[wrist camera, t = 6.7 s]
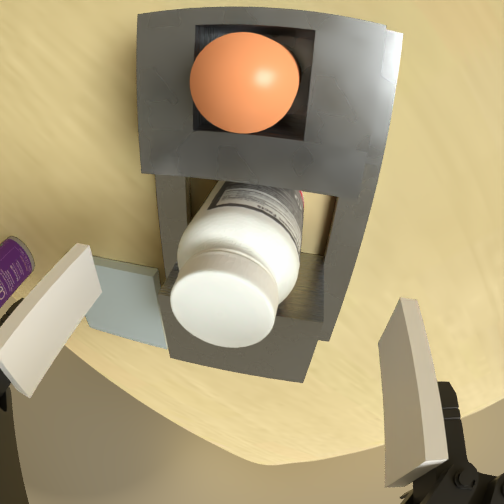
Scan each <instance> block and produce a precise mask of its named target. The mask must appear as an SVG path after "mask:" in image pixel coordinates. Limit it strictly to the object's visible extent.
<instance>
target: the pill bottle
mask: <svg viewBox="0 0 504 504" xmlns="http://www.w3.org/2000/svg"><path fill="white" fill-rule="evenodd" d="M303 213H304V197H303V192H302V191H299V190H292V189H285V188H278V187H271V186H263V185H255V184H247V183H239V182H231V181H222V180H219V181H218V182H217V184H216V185H215V187H214V188H213V189H212V191H211V192H210V194H209V195H208V197H207V199H206V200H205V202H204V203H203V205H202V206H201V208H200V209H199V210H198V212H197V213H196V215H195V216H194V217H193V219H192V220H191V222H190V223H189V224H188V226H187V228H186V229H185V231H184V233H183V235H182V237H181V240H180V243H179V247H178V253H177V261H178V267H179V274H178V277H177V279H176V281H175V283H174V285H173V288H172V290H171V295H170V304H171V309H172V311H173V314H174V316H175V317H176V319H177V320H178V322H179V323H180V324H181V325H182V326H183V327H184V328H185V329H186V330H187V331H188V332H190V333H191V334H192V335H194V336H196V337H197V338H199V339H201V340H203V341H205V342H208V343H210V344H213V345H217V346H221V347H230V348H238V347H246V346H250V345H253V344H256V343H258V342H260V341H261V340H263V339H264V338H265V337H266V336H267V335H268V334H269V333H270V331H271V329H272V328H273V325H274V321H275V317H276V312H277V308H278V304H280V303H281V302H282V301H283V300H284V299H285V298H286V297H287V296H288V295H289V293H290V292H291V291H292V289H293V287H294V285H295V283H296V280H297V277H298V272H299V267H300V254H301V241H302V228H303Z"/></svg>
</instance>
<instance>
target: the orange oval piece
mask: <svg viewBox="0 0 504 504" xmlns="http://www.w3.org/2000/svg"><path fill="white" fill-rule="evenodd" d="M301 79H302V72H301V67H300V64H299V61H298V59H297V58H296V56H295V55H294V54H293V52H292V51H290V50H289V49H288V48H287V47H285V46H284V45H282V44H280V43H278V42H276V41H274V40H272V39H269V38H267V37H265V36H262V35H259V34H255V33H250V32H236V33H230V34H227V35H223V36H221V37H219V38H217V39H215V40H213V41H212V42H210V43H209V44H208V45H207V46H205V48H204V49H203V50H202V51H201V52H200V53H199V55H198V56H197V58H196V60H195V61H194V64H193V66H192V69H191V74H190V90H191V95H192V98H193V101H194V103H195V105H196V107H197V109H198V110H199V112H200V113H201V114H202V115H203V116H204V117H205V118H206V119H207V120H208V121H209V122H211V123H212V124H213V125H215V126H217V127H219V128H221V129H223V130H226V131H229V132H233V133H245V134H246V133H254V132H259V131H262V130H265V129H267V128H269V127H271V126H273V125H274V124H276V123H277V122H278V121H279V120H281V119H282V118H283V117H284V115H285V114H286V113H287V112H288V110H289V109H290V107H291V105H292V103H293V101H294V99H295V96H296V94H297V92H298V90H299V87H300V84H301Z"/></svg>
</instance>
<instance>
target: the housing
mask: <svg viewBox="0 0 504 504" xmlns="http://www.w3.org/2000/svg"><path fill="white" fill-rule="evenodd" d="M236 32H250V33H255V34H259V35H262V36H265V37H267V38H269V39H272V40H274V41H276V42H278V43H280V44H282V45H284V46H285V47H287V48H288V49H289V50H290V51H292V52H293V54H294V55H295V56H296V58H297V59H298V61H299V64H300V67H301V72H302V79H301V84H300V87H299V90H298V92H297V94H296V96H295V99H294V101H293V103H292V105H291V107H290V109H289V110H288V112H287V113H286V114H285V115H284V117H283V118H282V119H281V120H279V121H278V122H277V123H276V124H274V125H273V126H271V127H269V128H267V129H265V130H262V131H259V132H254V133H246V134H245V133H233V132H229V131H226V130H223V129H221V128H219V127H217V126H215V125H213V124H212V123H211V122H209V121H208V120H207V119H206V118H205V117H204V116H203V115H202V114H201V113H200V112H199V110H198V109H197V107H196V105H195V103H194V101H193V98H192V95H191V90H190V74H191V69H192V66H193V64H194V61H195V60H196V58H197V56H198V55H199V53H200V52H201V51H202V50H203V49H204V48H205V46H207V45H208V44H209V43H210V42H212V41H213V40H215V39H217V38H219V37H221V36H223V35H227V34H230V33H236ZM402 39H403V34H402V33H398V32H394V31H390V30H387V29H386V25H383V24H378V23H374V22H370V21H365V20H360V19H355V18H350V17H345V16H339V15H333V14H326V13H319V12H312V11H303V10H293V9H281V8H265V7H204V8H188V9H176V10H166V11H158V12H150V13H143V14H138V18H137V111H138V131H139V147H140V161H141V173H146V174H155V180H156V193H157V204H158V215H159V225H160V234H161V243H162V251H163V259H164V267H165V274H166V280H165V282H164V284H163V286H162V287H161V289H160V291H159V292H158V299H159V304H160V310H161V315H162V320H163V325H164V330H165V335H166V340H167V344H168V349H169V354H170V358H174V359H178V360H182V361H186V362H190V363H195V364H199V365H203V366H208V367H213V368H217V369H222V370H227V371H232V372H238V373H243V374H248V375H254V376H260V377H266V378H272V379H278V380H285V381H292V382H299V383H303V381H304V379H305V376H306V373H307V370H308V368H309V365H310V362H311V359H312V356H313V353H314V350H315V347H316V344H317V341H318V340H321V341H329V340H330V337H331V334H332V332H333V329H334V326H335V323H336V320H337V318H338V315H339V312H340V309H341V306H342V303H343V300H344V297H345V294H346V291H347V288H348V285H349V282H350V279H351V275H352V272H353V269H354V266H355V262H356V259H357V256H358V252H359V249H360V246H361V242H362V239H363V235H364V232H365V228H366V224H367V221H368V217H369V213H370V209H371V205H372V202H373V198H374V194H375V190H376V185H377V181H378V177H379V173H380V168H381V164H382V159H383V155H384V150H385V145H386V140H387V135H388V130H389V125H390V120H391V114H392V109H393V103H394V97H395V91H396V84H397V78H398V71H399V63H400V56H401V47H402ZM190 177H193V178H203V179H213V180H222V181H231V182H239V183H247V184H255V185H263V186H271V187H278V188H285V189H292V190H299V191H305V192H312V193H318V194H324V195H331V196H337V198H336V203H335V208H334V213H333V217H332V222H331V227H330V231H329V236H328V240H327V245H326V249H325V254H324V256H320V255H314V254H307V253H301V254H300V267H299V272H298V277H297V280H296V283H295V285H294V287H293V289H292V291H291V292H290V293H289V295H288V296H287V297H286V298H285V299H284V300H283V301H282V302H281V303H280V304H278V308H277V312H276V317H275V321H274V325H273V328H272V329H271V331H270V333H269V334H268V335H267V336H266V337H265V338H264V339H263V340H261V341H260V342H258V343H256V344H253V345H250V346H246V347H238V348H230V347H221V346H217V345H213V344H210V343H208V342H205V341H203V340H201V339H199V338H197V337H196V336H194V335H192V334H191V333H190V332H188V331H187V330H186V329H185V328H184V327H183V326H182V325H181V324H180V323H179V322H178V320H177V319H176V317H175V316H174V314H173V311H172V309H171V304H170V295H171V290H172V288H173V285H174V283H175V281H176V279H177V277H178V274H179V267H178V261H177V253H178V247H179V243H180V240H181V237H182V235H183V233H184V231H185V229H186V228H187V226H188V224H189V223H190V222H191V202H190Z"/></svg>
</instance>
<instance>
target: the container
mask: <svg viewBox="0 0 504 504" xmlns="http://www.w3.org/2000/svg"><path fill="white" fill-rule="evenodd" d="M34 266H35V265H34V260H33V257H32V255H31V253H30V251H29V249H28V248H27V247H26V245H25V244H24V243H23V242H22V241H21V240H19V239H18V238H16V237H13V236H10V237H8V238H7V239H6V240H5V241H4V242H2V243H1V244H0V308H1V307H2V305H3V304H4V303H5V302H6V301H7V300H8V298H9V297H10V296H11V295H12V294H13V293H14V291H15V290H16V289H17V288H18V287H19V286H20V285H21V284H22V282H23V281H24V280H25V279H26V278H27V277H28V276H29V275H30V274H31V272H32V271H33V270H34Z"/></svg>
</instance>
